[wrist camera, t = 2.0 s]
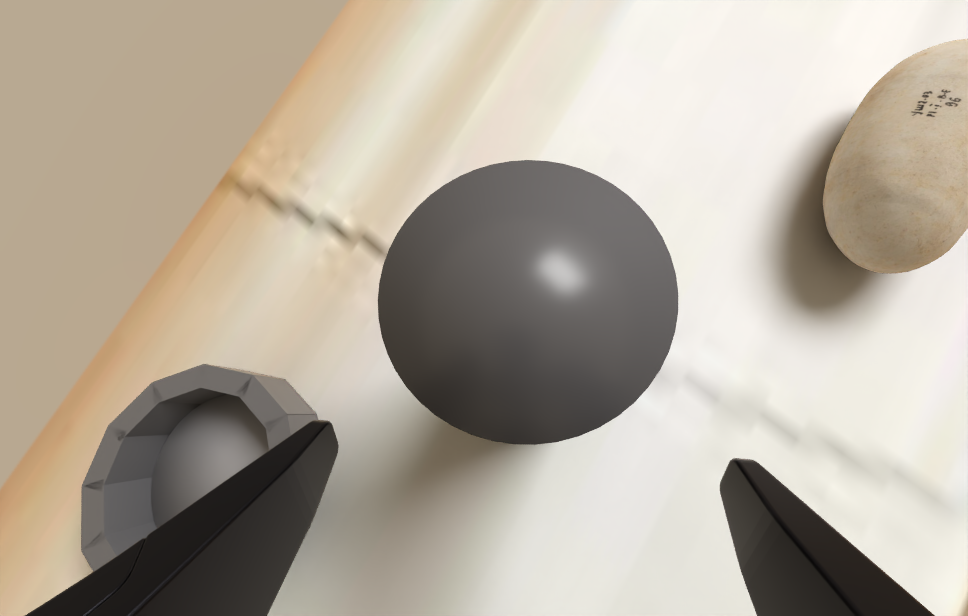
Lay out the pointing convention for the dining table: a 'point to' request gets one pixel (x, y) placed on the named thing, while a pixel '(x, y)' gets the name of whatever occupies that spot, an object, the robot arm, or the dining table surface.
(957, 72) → the stone
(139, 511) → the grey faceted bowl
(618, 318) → the dark grey banded cylinder
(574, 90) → the dining table surface
